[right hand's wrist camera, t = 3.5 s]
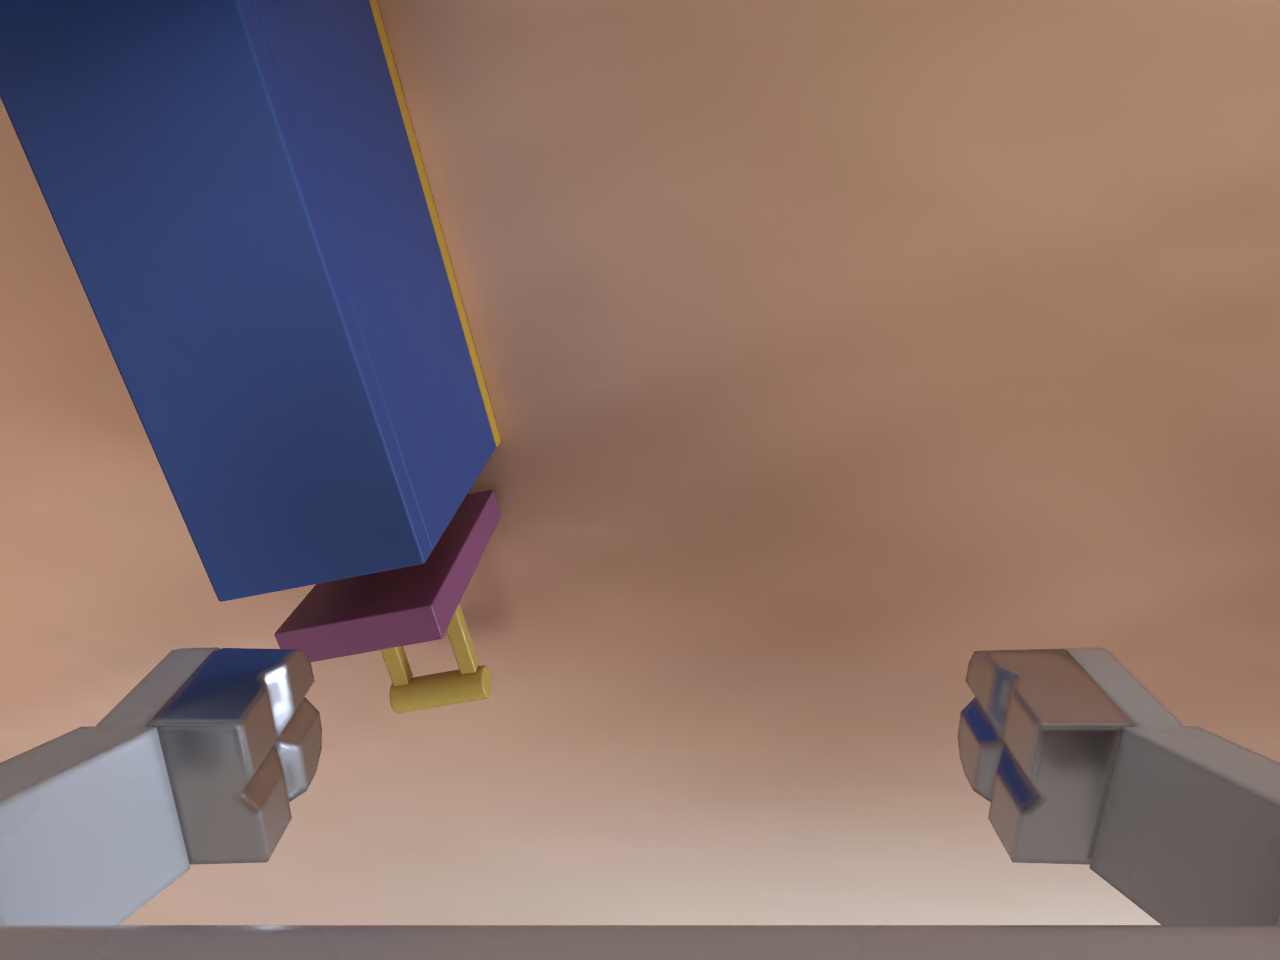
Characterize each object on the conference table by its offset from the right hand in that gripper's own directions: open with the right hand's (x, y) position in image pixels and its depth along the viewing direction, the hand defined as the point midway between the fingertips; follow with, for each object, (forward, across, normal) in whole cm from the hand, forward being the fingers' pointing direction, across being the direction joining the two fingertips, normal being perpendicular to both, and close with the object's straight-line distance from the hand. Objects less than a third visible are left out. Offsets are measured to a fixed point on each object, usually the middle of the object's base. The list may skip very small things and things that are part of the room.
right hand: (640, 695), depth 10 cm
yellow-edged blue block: (+24, +11, -5) cm, 27 cm away
